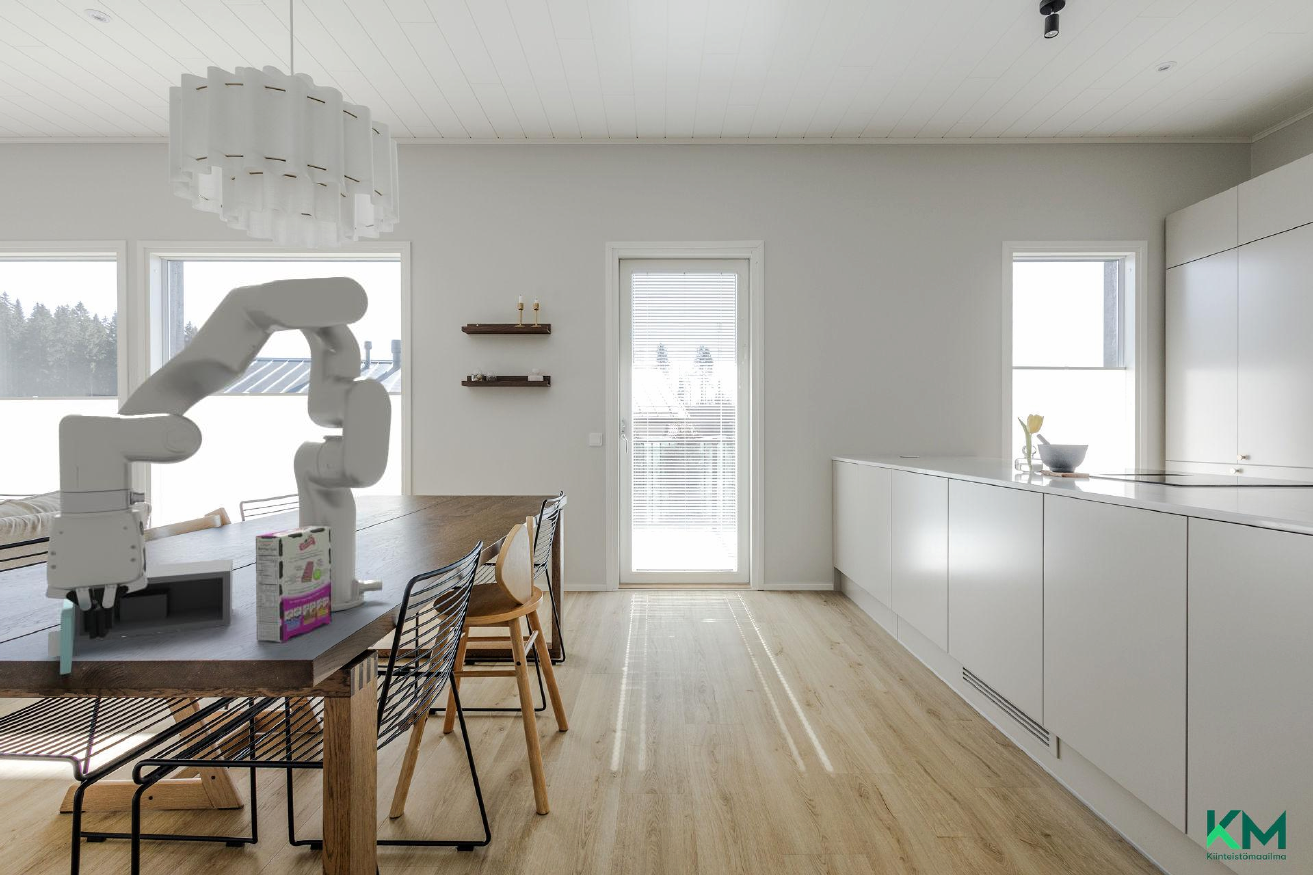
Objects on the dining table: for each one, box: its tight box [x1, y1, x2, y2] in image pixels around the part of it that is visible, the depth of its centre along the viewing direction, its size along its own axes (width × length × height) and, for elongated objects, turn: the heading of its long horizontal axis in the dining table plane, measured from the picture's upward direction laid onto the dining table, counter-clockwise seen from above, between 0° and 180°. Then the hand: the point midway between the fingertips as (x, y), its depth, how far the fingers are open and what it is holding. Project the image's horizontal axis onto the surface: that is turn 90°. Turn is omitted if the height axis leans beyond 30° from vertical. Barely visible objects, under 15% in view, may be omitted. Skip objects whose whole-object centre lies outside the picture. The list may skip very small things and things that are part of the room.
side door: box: [47, 599, 75, 675], centre depth 89 cm, size 19×2×7 cm, turn 41°
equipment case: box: [73, 558, 234, 645], centre depth 108 cm, size 20×12×9 cm, turn 122°
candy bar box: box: [255, 526, 332, 644], centre depth 104 cm, size 11×5×16 cm, turn 168°
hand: (99, 635), depth 89 cm, fingers closed
